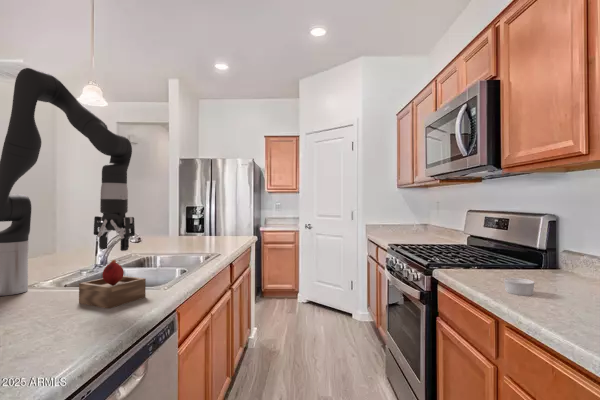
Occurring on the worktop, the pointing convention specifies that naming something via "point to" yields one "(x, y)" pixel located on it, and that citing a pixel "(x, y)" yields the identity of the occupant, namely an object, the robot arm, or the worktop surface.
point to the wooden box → (112, 292)
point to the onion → (113, 273)
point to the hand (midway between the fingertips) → (113, 249)
